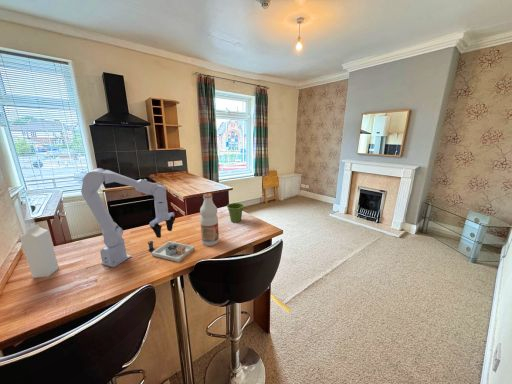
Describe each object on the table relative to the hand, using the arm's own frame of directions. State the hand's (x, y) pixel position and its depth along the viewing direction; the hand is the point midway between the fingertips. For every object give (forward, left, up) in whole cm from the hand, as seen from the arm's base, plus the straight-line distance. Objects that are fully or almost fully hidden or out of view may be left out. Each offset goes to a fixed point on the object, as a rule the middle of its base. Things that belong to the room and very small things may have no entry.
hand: (164, 233), depth 107 cm
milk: (-33, +36, -10) cm, 49 cm away
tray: (-1, -5, -9) cm, 11 cm away
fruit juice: (+15, -17, -10) cm, 25 cm away
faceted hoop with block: (-1, -7, -9) cm, 11 cm away
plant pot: (+47, -18, -10) cm, 52 cm away
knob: (-3, +7, -9) cm, 12 cm away
